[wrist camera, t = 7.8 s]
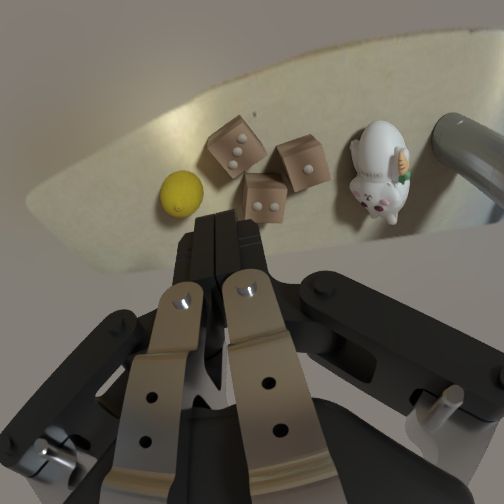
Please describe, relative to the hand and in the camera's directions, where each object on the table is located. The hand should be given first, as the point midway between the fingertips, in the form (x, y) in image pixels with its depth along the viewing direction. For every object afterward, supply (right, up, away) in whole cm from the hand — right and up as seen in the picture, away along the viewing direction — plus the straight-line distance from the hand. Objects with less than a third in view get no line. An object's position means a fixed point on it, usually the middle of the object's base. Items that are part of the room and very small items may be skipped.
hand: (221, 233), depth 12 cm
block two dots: (+2, +8, +31) cm, 32 cm away
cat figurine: (+19, +12, +30) cm, 37 cm away
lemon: (-8, +9, +29) cm, 31 cm away
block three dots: (-1, +14, +26) cm, 30 cm away
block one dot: (+8, +12, +28) cm, 32 cm away
